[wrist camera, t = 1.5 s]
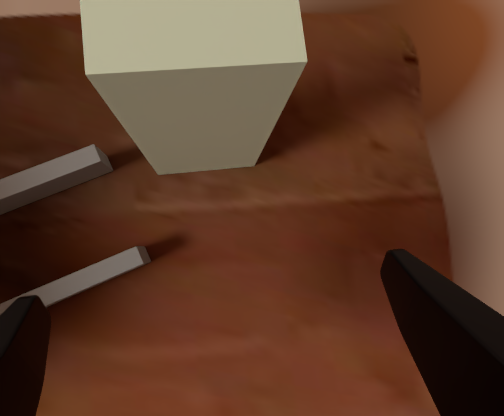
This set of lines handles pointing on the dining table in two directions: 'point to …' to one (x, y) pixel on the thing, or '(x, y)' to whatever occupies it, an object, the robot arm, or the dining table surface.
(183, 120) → the rectangular block
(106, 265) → the cabinet
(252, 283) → the dining table surface
